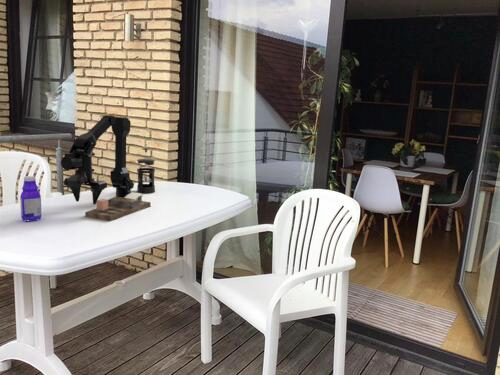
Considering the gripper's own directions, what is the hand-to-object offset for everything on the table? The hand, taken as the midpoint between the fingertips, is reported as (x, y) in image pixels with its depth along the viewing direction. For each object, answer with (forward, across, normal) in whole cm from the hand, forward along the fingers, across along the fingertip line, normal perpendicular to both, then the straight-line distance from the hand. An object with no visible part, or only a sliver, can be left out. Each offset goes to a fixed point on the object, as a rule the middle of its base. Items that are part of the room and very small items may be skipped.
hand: (85, 202), depth 195 cm
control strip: (+4, +11, +8) cm, 14 cm away
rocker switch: (0, +11, +18) cm, 21 cm away
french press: (+4, -2, +47) cm, 47 cm away
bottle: (+4, -10, -20) cm, 23 cm away
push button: (+2, +11, +11) cm, 16 cm away
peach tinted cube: (+2, +9, 0) cm, 9 cm away
